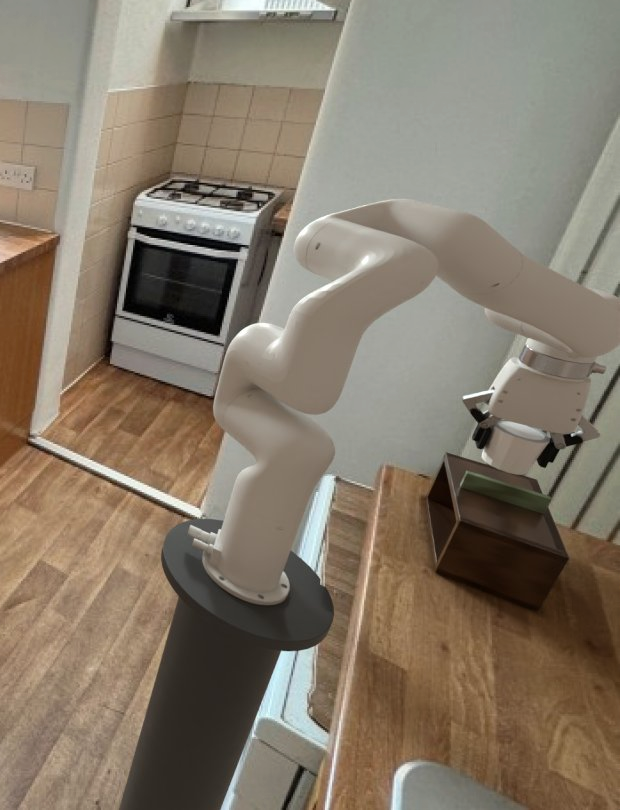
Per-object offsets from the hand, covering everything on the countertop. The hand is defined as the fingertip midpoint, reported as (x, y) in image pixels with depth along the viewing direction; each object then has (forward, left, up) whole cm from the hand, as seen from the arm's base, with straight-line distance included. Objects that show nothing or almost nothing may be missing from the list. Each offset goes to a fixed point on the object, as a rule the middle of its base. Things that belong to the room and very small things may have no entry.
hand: (508, 453), depth 101 cm
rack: (0, -5, -17) cm, 18 cm away
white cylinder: (0, 0, -2) cm, 2 cm away
